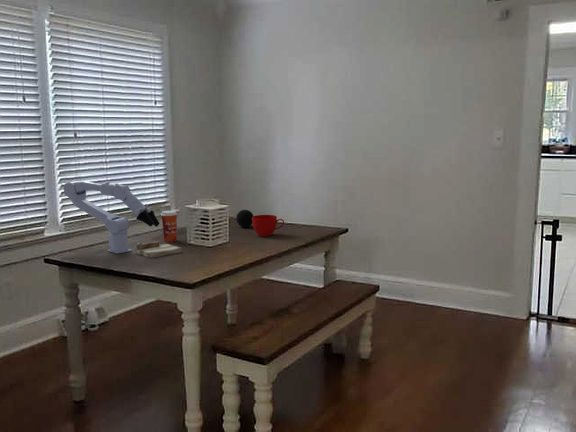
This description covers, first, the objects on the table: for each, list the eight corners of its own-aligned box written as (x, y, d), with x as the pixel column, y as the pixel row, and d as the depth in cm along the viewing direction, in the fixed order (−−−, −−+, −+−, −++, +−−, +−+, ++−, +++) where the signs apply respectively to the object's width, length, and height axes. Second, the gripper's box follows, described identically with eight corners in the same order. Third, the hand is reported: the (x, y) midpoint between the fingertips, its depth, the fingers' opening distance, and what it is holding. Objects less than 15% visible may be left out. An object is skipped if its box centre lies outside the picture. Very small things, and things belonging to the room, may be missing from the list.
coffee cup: (167, 243, 301) (165, 213, 298) (159, 240, 307) (157, 211, 305) (181, 240, 306) (180, 211, 304) (173, 238, 312) (172, 209, 310)
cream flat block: (135, 253, 279) (135, 248, 279) (165, 247, 290) (165, 243, 289) (151, 257, 269) (151, 253, 269) (181, 252, 280) (181, 247, 279)
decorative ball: (251, 229, 335) (250, 211, 333) (234, 228, 337) (233, 211, 336) (256, 225, 345) (255, 208, 343) (239, 225, 347) (239, 208, 345)
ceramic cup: (282, 238, 308) (281, 219, 307) (250, 237, 311) (249, 218, 309) (286, 233, 321) (286, 214, 319) (255, 232, 324) (254, 214, 322)
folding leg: (138, 249, 276) (138, 244, 276) (135, 248, 278) (135, 243, 278) (159, 245, 284) (159, 240, 283) (157, 245, 286) (156, 239, 285)
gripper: (134, 197, 270) (155, 218, 268) (146, 199, 284) (166, 219, 283) (124, 209, 270) (145, 229, 269) (136, 210, 285) (156, 229, 283)
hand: (155, 225), depth 276 cm, fingers open, 7 cm apart
